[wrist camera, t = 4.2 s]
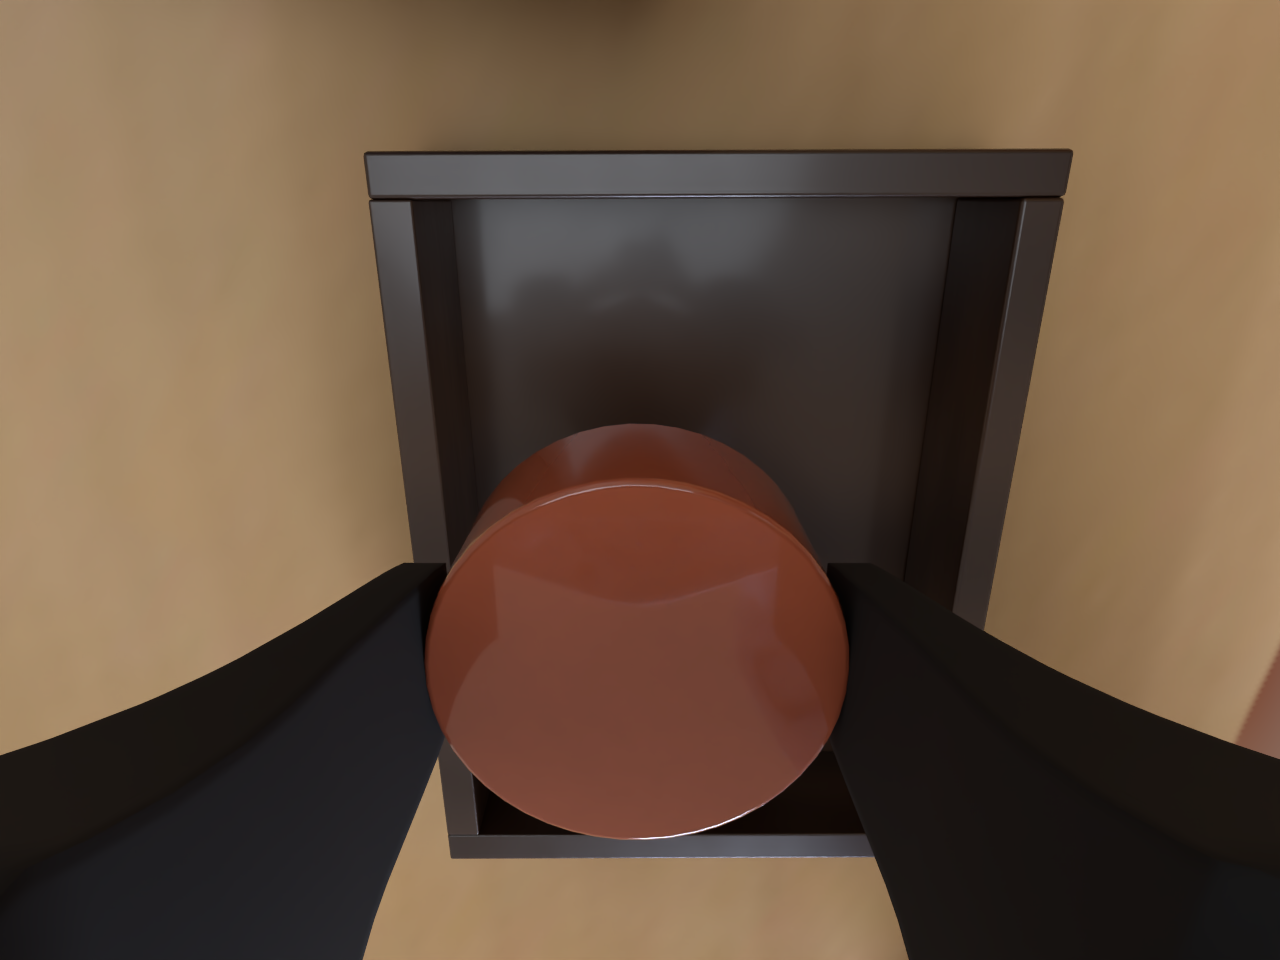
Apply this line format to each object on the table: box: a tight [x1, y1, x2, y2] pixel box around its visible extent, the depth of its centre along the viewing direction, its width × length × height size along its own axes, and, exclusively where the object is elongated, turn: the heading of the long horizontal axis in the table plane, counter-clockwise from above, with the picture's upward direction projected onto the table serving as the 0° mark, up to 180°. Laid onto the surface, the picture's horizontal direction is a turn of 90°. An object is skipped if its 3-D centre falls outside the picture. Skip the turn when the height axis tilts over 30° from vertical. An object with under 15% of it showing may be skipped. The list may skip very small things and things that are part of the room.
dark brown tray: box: [364, 149, 1073, 859], centre depth 18 cm, size 17×13×3 cm
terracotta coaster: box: [424, 424, 850, 840], centre depth 11 cm, size 6×6×2 cm
